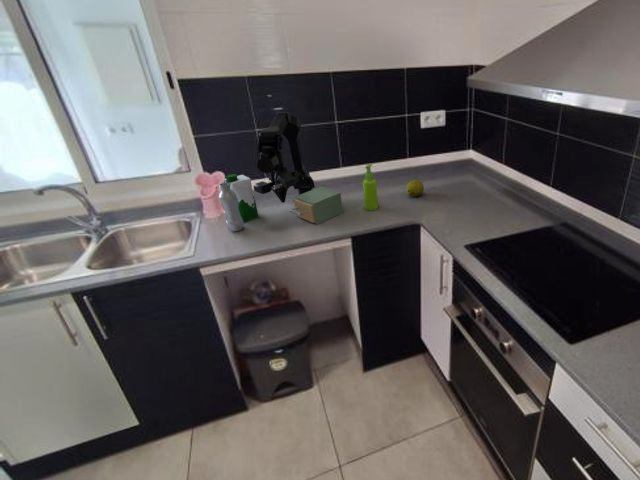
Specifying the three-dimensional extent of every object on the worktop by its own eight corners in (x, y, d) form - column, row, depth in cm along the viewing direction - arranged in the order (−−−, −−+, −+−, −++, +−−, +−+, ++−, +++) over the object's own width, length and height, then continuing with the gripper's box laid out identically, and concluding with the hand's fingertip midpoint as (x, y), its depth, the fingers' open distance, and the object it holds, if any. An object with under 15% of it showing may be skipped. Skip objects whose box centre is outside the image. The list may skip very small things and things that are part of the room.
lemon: (415, 190, 192) (415, 175, 188) (427, 194, 187) (427, 179, 183) (401, 197, 184) (400, 182, 180) (413, 201, 180) (413, 185, 176)
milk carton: (232, 217, 166) (220, 174, 157) (252, 211, 172) (242, 169, 163) (241, 223, 161) (230, 179, 152) (262, 216, 167) (251, 173, 157)
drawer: (304, 227, 156) (301, 209, 152) (288, 219, 162) (284, 203, 158) (337, 212, 168) (335, 195, 165) (321, 205, 175) (318, 190, 171)
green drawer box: (317, 224, 160) (313, 203, 155) (298, 216, 167) (294, 196, 162) (342, 212, 170) (340, 192, 166) (324, 205, 177) (321, 186, 172)
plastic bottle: (248, 227, 159) (237, 181, 149) (237, 234, 153) (224, 188, 143) (236, 224, 160) (224, 180, 151) (224, 232, 155) (210, 186, 145)
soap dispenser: (379, 204, 178) (376, 162, 168) (376, 210, 171) (373, 168, 162) (367, 203, 178) (363, 162, 168) (363, 210, 172) (360, 167, 162)
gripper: (266, 175, 133) (274, 215, 140) (309, 162, 146) (315, 199, 153) (248, 169, 139) (257, 208, 146) (291, 157, 152) (297, 193, 159)
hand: (283, 202), depth 151 cm, fingers closed
